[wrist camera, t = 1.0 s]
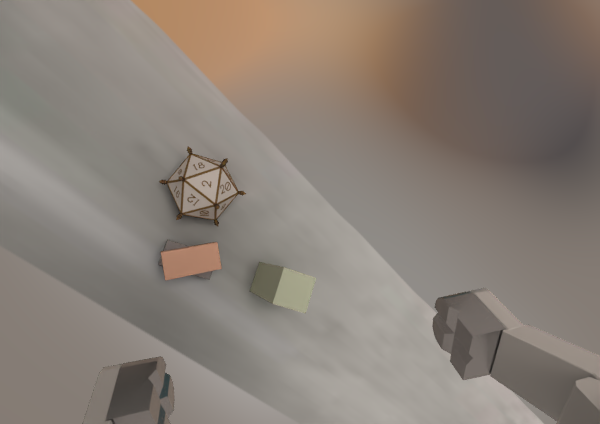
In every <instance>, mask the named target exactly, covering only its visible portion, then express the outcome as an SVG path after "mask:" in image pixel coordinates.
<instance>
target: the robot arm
mask: <svg viewBox="0 0 600 424" xmlns="http://www.w3.org/2000/svg"><path fill="white" fill-rule="evenodd" d="M435 308H436V310H437V311H438V313H437V314H436V316H435V317H434V318H433V331H434V335H435V338H436V340H437V342H438V344H439V345H440V347H441V348H442V349H443V350H445V351H447V352H448V353H450V354H451V358H450V362H451V363H452V365H453V366H454V368H455V369H456V371H457V372H458V374H459V375H460V376H461V378H462V379H463V380H467V379H471V378H476V377H481V376H485V375H490V374H491V375H490V376H491V377H492V378H494V379H495V380H497V381H498V382H500V383H501V384H503V385H504V386H506V387H507V388H509V389H510V390H512V391H513V392H515V393H516V394H517V395H519V396H520V397H522V398H523V399H525V400H526V401H528V402H529V403H531V404H532V405H534V406H535V407H537V408H538V409H540V410H541V411H543V412H544V413H546V414H547V415H548V416H550V417H551V418H553V419H554V420H556V421H557V423H556V424H600V356H599V355H597V354H595V353H592V352H590V351H588V350H585V349H583V348H581V347H579V346H576V345H574V344H572V343H569V342H567V341H565V340H563V339H560V338H558V337H556V336H553V335H551V334H549V333H547V332H544V331H542V330H539V329H537V328H535V327H533V326H530V325H525V326H524V325H523V324H522V323H521V322H520V321H519V320H518V319H517V318H516V317H515V316H514V315H513V314H512V313H511V312H510V311H509V310H508V309H507V308H506V307H505V306H504V305H503V304H502V303H501V302H500V301H499V300H498V299H497V298H496V297H495V296H494V295H493V294H492V293H491V292H490V291H489V290H488V289H486V288H481V289H477V290H472V291H468V292H462V293H457V294H453V295H449V296H444V297H440V298H438V299H437V300H436V303H435ZM165 369H166V364H165V361H164V359H163V357H156V358H150V359H144V360H139V361H134V362H128V363H123V364H119V365H113V366H108V367H104V368H103V369H102V370H101V371H100V373H99V375H98V378H97V381H96V384H95V387H94V390H93V393H92V396H91V399H90V402H89V405H88V408H87V411H86V414H85V418H84V421H83V423H82V424H170V422H169V419H168V418H169V416H170V415H171V413H172V412H173V411H174V387H173V382H172V379H171V376H170V375H169V374H167V373H165Z"/></svg>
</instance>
